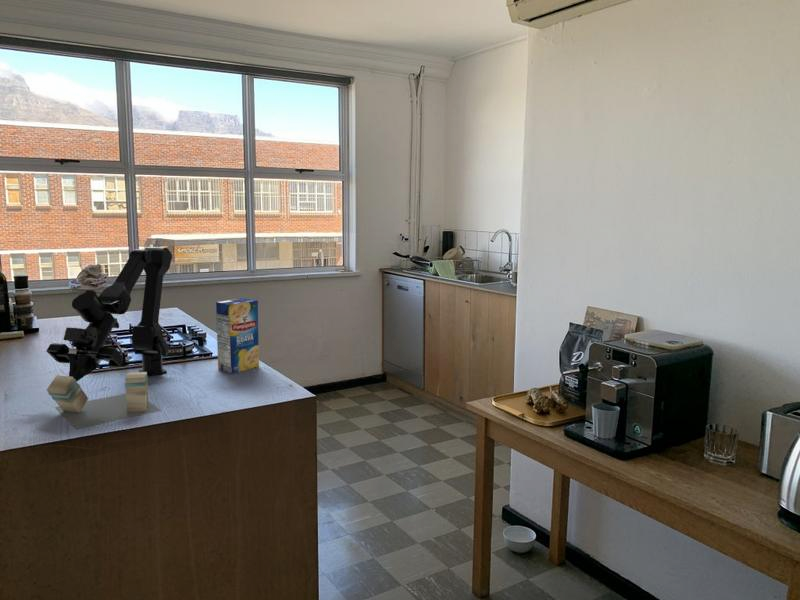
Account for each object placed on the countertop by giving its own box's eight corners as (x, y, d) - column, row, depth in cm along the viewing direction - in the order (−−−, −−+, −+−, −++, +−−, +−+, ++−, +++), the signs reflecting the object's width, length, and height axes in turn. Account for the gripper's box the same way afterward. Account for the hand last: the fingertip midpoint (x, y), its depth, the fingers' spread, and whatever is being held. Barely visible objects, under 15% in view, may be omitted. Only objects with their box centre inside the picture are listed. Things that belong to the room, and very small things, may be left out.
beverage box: (217, 369, 193) (215, 302, 189) (246, 362, 201) (244, 297, 198) (231, 374, 189) (229, 304, 185) (259, 366, 197) (257, 300, 193)
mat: (55, 408, 156) (54, 407, 156) (134, 392, 169) (134, 391, 169) (76, 430, 142) (75, 429, 142) (160, 411, 156) (160, 410, 156)
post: (129, 406, 158) (127, 373, 157) (148, 404, 159) (147, 371, 158) (126, 412, 154) (124, 378, 152) (146, 410, 155) (144, 377, 153)
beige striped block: (72, 396, 157) (56, 375, 150) (89, 398, 156) (73, 376, 150) (62, 411, 153) (45, 390, 147) (79, 413, 152) (63, 391, 146)
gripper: (49, 312, 157) (18, 364, 147) (115, 316, 154) (87, 369, 144) (72, 336, 165) (44, 386, 156) (134, 341, 162) (110, 392, 153)
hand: (70, 383), depth 152 cm, fingers closed, pressing on beige striped block
